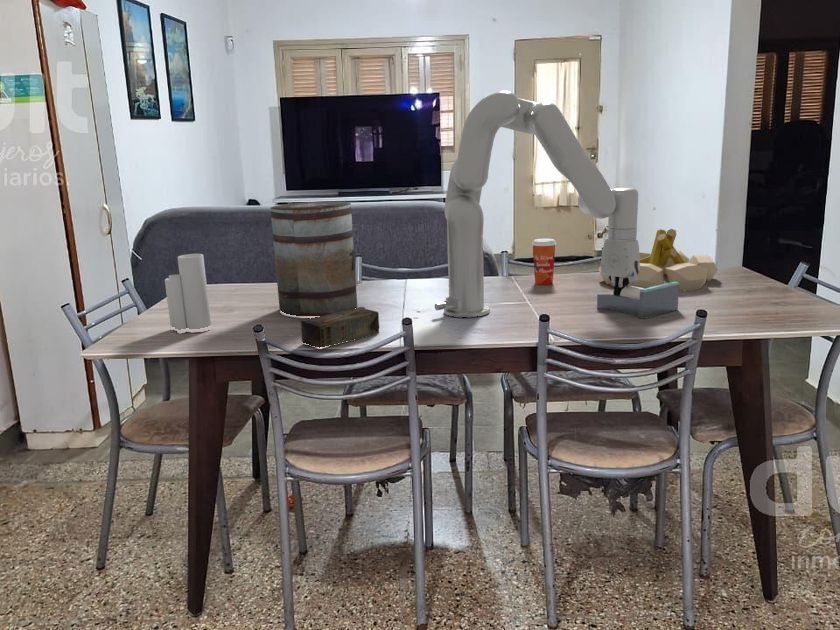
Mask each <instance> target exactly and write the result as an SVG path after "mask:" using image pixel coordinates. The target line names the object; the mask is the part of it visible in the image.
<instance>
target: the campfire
mask: <svg viewBox="0 0 840 630" xmlns="http://www.w3.org/2000/svg"><path fill="white" fill-rule="evenodd" d="M676 236H677V230H675V229H673V228H670V229H668V230H667V231H666V230H665V229H661V228H660V229H657V230H656V233H655V238H654V242H653V246H652V249H651V253H648V252H644V251H639V254H640V268H639V274H638V275H637V279H638V280H637V281H635V282H630V283H629V284H628V286H634V287H640V288H648V287H653V286H657V285H662V284H665V279H664V278H665V277H664V274H667V275H666V277H667V278H668V279H667V280H668V283H671V282H679V291H680V290H681V292H688V291H696V290H700V289H702V288H703V287H704V285H705V284H706V282H711V281H712V279H713V278H714V277H715V275H716V273H717V272H718V271H719V269H718V267H717V265H716V263H715V261H714V260H713V259H712V257H711V256H710V255H708V254H707V255H706V254H704V255H703V254H701V255H698V254H697V255H692V256H691V257H690V258H689V257H687V255H686V254H684V252H682V251H681V250H677V249H676V248H675V247H674V244H675V243H674V242H675V239H676ZM598 272H599V274H600V276H601V277H602V279H603V280H604V282H605V284H606V285H612V283H611V281H610V279H608V278H606V277H605V276H604V274H603V273H602V272H601V265H600V266H599V267H598Z"/></svg>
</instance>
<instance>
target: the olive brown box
mask: <svg viewBox="0 0 840 630" xmlns="http://www.w3.org/2000/svg"><path fill="white" fill-rule="evenodd" d="M300 327H301V328H300V330H301V331H300V332H301V343H302V342H303V343H306V344H309V345H311V346H315V347H319V348H320V347H325V346H329V345H334V344H338V343H342V342H346V341H350V340H354V339H357V340H359V339H358V338H361V339H363V338H362V337H364V338H367V337H366V336H368V337H370V336H369V335H371V336H374V335H373V334H375V335H377V334H376V333H378V334H380V319H379V311H376V310H373V309H369V308H366V307H365V306H360V307H359V306H357V308H356V309H352V310H347V311H342V312H338V313H333V314H329V315H325V316H320V317H315V318H311V319H303V320H301V321H300ZM354 341H355V340H354ZM350 342H351V341H350Z"/></svg>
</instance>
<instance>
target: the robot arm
mask: <svg viewBox="0 0 840 630" xmlns="http://www.w3.org/2000/svg"><path fill="white" fill-rule="evenodd" d="M500 128H504V129H509V130H512V131H516V132H520V133H524V134H528V135H533V136H536V138H537V140H538V142H539V144H540V145H541V147H542V148H543V150H544V151H545V153H546V155H547V156H548V157H547V158H549V160H550V162H551V163H552V165H553V166H554V168H555V169H556V170H557V171H558V172H559V173H560V174H561V175H562V176H563V177H564V178H566V179H567V180H568V181H569V182H570V183H571V185H572V186H573V187H574V189H575V190H576V191H577V193H578V195H579V196H578V198H577V205H578V208H579V210H580V211H581V212H583V214H585V215H587V216H589V217H592V218H594V219H595V218H596V219H598V220H603V219H608V221H607V225H608V226H607V228H606V229H605V233H606V234H607V237H606V238H605V239H604V242H603V246H602V250H601V251H602V252H601V259H600V260H601V261H600V266H601V272H602V273H603V274H604V276H605V277H606V278H608V279H610V281H611V283H612V284H611V286H612V287H613V292H612V295H619V296H620V293H621V291H622V289H623V288H624V287H625V286H628V284H629V283H630V282H635V281H637V280H638V279H637V275H638V274H639V268H640V254H639V252H640V246H639V240H638V239H637V231H638V212H639V211H638V208H639V191H638V190H637V189H636V188H634V187H615V188H610V186H609V184H608V183H607V180H606V179H605V176H604V175H603V174H602V173H601V171H600V170H599V168H598V167H597V165H596V164H595V163H594V162H593V160H592V159H591V158H590V156H589V154H588V153H587V152H586V150H584V147H583V146H582V145H581V143H580V142H579V140H578V138H577V136H576V135H575V133H574V131H573V129H572V128H571V127H570V124H569V123H568V120H566V118H565V116H564V114H563V113H562V111H561V110H560V108H559V107H558V106H557V105H556V104H554V103H552V102H548V101H542V102H536V101H533V100H532V101H531V100H527V99H523V98H519V97H518V96H517V95H516V94H515V93H514V92H512V91H509V90H500V91H499V90H498V91H496V92H493V93H491V94H490V95H487V96H486V97H484V98H482V99H481V100H480V101H478V102H477V103H476V104H475V106H473V108H472V109H471V110H470V111H469V113H468V115H467V117H466V119H465V122H464V125H463V128H462V132H461V137H460V138H461V139H460V141H459V142H460V143H459V147H458V151H457V153H458V154H457V158H456V159H455V160H454V162H453V164H452V165H451V169H450V172H449V178H448V184H447V190H446V197H445V203H444V217H445V220H446V223H447V226H446V227H447V231H446V233H447V238H446V241H447V266H448V267H447V268H448V272H447V273H448V296H447V297H445V300H444V301H443V302H437V303H435V304H434V309H435V311H442V310H443V313H444V315H446V316H448V315H449V317H452V316H454V317H453V318H462V317H467V318H476V317H477V316H478V317H483V316H485V315H488V314H489V313H490V311H491V310H490V308H491V307H490V306H488V305H486V304H485V293H484V292H485V290H484V289H485V286H484V284H485V282H484V281H485V279H484V247H483V246H484V212H483V209H482V206H481V205H480V202H481V195H482V190H483V187H484V186H485V185H486V183H487V182H488V178H489V170H490V161H491V157H492V156H491V155H492V150H493V146H494V141H495V138H496V135H497V133H498V131H499V130H500ZM478 317H477V318H478Z"/></svg>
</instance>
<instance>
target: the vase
mask: <svg viewBox="0 0 840 630" xmlns="http://www.w3.org/2000/svg"><path fill="white" fill-rule="evenodd" d="M177 265H178V271H179V273H177V274H170V275H168V277H166V278H165V279H164V285H165V293H166V301H167V306H168V307H167V308H168V315H169V324H170V327H171V326H172V327H175V329H178V330H181V329H186V328H189V329H200V328H205V327H208V326H210V325H211V326H212V319H211V310H210V309H211V308H210V302H209V294H208V292H209V291H208V285H207V276H206V268H205V258H204V254H202V253H189V254H181V255H178V256H177Z"/></svg>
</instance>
